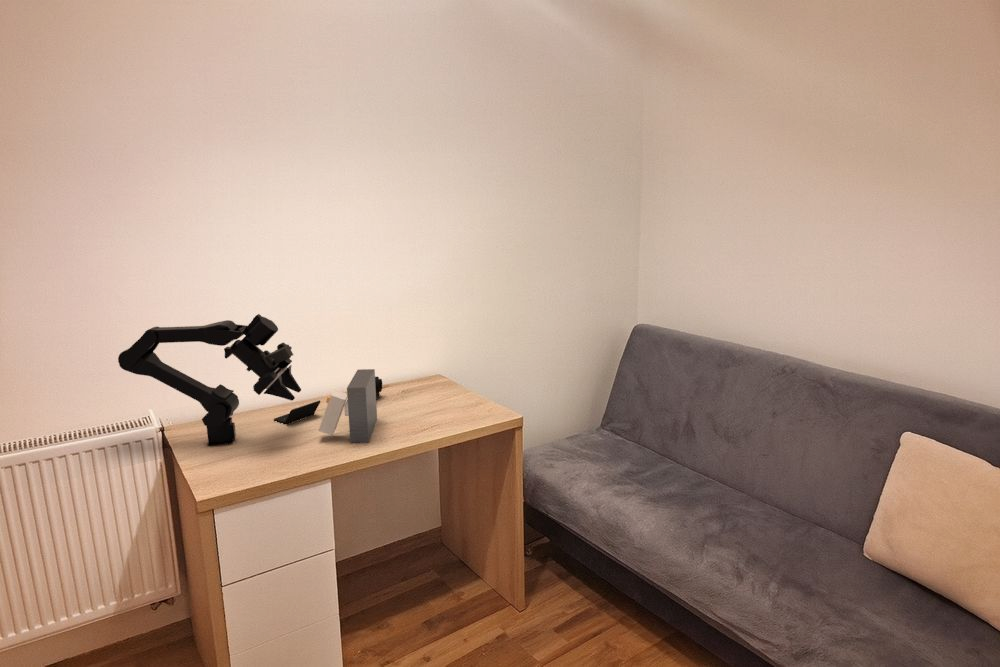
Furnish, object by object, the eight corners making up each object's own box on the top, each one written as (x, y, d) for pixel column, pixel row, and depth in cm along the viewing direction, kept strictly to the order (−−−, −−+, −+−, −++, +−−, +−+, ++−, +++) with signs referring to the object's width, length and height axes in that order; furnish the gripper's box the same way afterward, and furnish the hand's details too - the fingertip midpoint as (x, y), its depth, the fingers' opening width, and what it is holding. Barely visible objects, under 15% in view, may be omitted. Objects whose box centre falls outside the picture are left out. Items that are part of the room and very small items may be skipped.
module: (315, 429, 179) (328, 394, 177) (319, 423, 184) (331, 388, 182) (332, 435, 179) (345, 400, 177) (335, 428, 184) (348, 394, 182)
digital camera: (375, 406, 209) (374, 385, 207) (358, 406, 209) (357, 385, 208) (383, 396, 219) (382, 376, 217) (367, 396, 219) (366, 376, 218)
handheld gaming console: (296, 405, 205) (307, 385, 200) (312, 420, 204) (324, 400, 199) (270, 422, 196) (280, 401, 190) (287, 438, 195) (298, 417, 189)
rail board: (346, 443, 178) (343, 388, 175) (357, 420, 196) (354, 369, 192) (368, 442, 179) (365, 387, 175) (377, 420, 196) (374, 369, 193)
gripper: (262, 344, 166) (308, 385, 169) (282, 328, 184) (323, 365, 187) (233, 374, 167) (280, 414, 170) (256, 356, 185) (298, 392, 188)
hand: (297, 395), depth 179 cm, fingers open, 7 cm apart
